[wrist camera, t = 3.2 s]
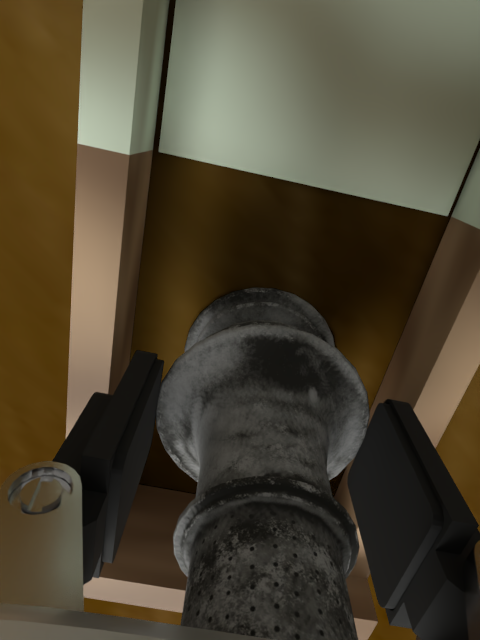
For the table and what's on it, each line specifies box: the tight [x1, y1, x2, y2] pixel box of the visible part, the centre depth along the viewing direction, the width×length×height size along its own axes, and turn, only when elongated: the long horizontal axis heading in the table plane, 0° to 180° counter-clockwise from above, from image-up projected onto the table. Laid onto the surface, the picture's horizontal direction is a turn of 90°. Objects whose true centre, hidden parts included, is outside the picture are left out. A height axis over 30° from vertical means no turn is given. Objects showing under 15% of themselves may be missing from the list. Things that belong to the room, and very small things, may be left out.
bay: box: [66, 0, 480, 640], centre depth 12 cm, size 21×11×4 cm, turn 168°
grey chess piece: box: [156, 288, 370, 640], centre depth 9 cm, size 6×6×12 cm
